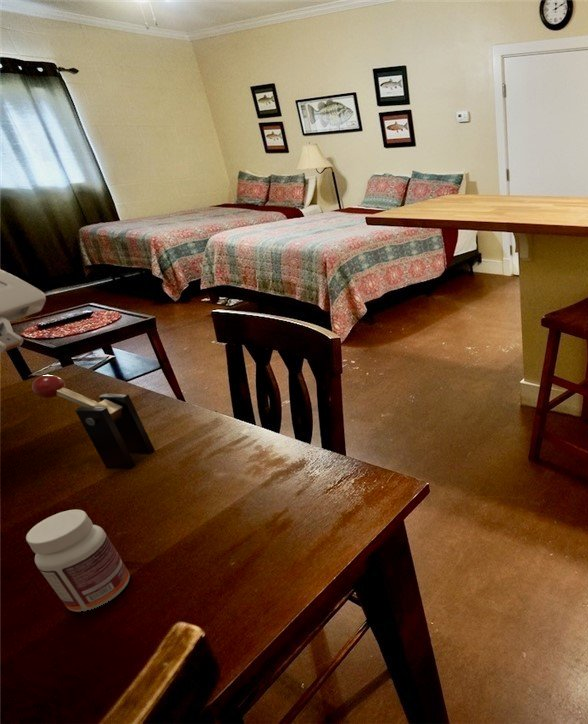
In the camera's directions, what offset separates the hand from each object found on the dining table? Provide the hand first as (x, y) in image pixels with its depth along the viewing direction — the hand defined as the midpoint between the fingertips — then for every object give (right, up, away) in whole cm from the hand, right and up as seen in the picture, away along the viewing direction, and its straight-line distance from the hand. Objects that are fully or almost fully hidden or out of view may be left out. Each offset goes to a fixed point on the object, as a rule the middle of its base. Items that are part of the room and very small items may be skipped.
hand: (12, 346), depth 72 cm
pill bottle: (+25, -31, -13) cm, 42 cm away
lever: (+5, -10, +4) cm, 12 cm away
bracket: (+10, -20, +9) cm, 25 cm away
